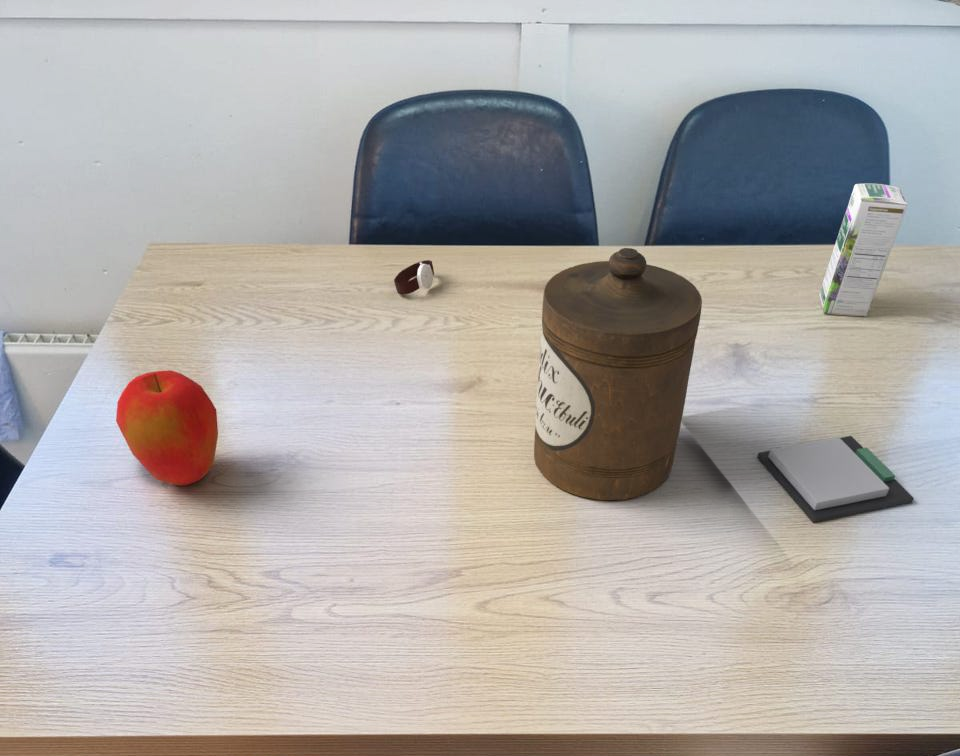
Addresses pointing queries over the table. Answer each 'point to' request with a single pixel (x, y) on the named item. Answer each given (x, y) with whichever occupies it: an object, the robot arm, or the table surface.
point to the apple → (169, 426)
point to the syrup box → (862, 249)
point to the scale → (834, 478)
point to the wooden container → (613, 375)
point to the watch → (421, 280)
